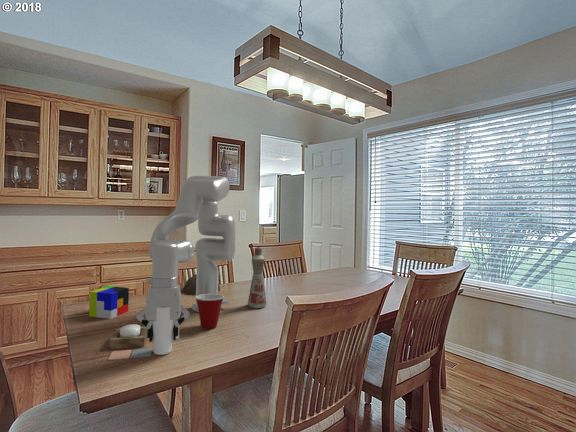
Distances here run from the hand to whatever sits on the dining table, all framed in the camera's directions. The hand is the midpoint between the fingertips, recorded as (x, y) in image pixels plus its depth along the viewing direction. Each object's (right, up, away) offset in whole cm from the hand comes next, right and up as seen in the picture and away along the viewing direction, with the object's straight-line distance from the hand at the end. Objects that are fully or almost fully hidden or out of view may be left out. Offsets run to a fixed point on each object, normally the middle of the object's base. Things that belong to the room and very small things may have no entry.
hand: (163, 338), depth 101 cm
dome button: (-14, -3, +7) cm, 15 cm away
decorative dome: (-8, -2, +74) cm, 74 cm away
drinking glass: (0, -4, 0) cm, 4 cm away
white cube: (-1, -4, +11) cm, 12 cm away
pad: (-12, -4, -3) cm, 13 cm away
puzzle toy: (-35, -2, +33) cm, 48 cm away
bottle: (+25, -4, +50) cm, 56 cm away
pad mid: (-6, -4, -2) cm, 7 cm away
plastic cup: (+9, -4, +23) cm, 25 cm away
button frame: (-14, -3, +7) cm, 15 cm away
